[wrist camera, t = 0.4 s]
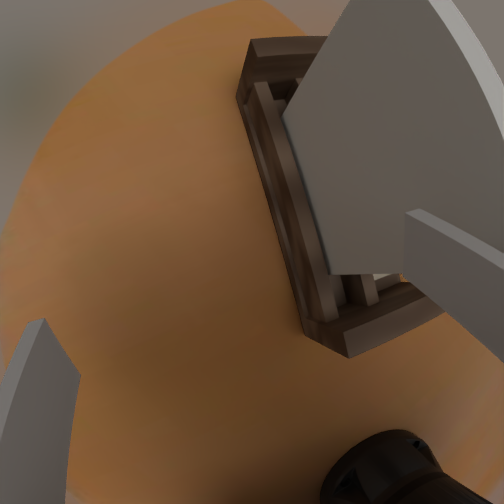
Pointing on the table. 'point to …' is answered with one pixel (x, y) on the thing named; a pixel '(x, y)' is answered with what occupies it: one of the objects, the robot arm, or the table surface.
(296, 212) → the rack
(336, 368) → the table surface
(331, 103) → the sheet
